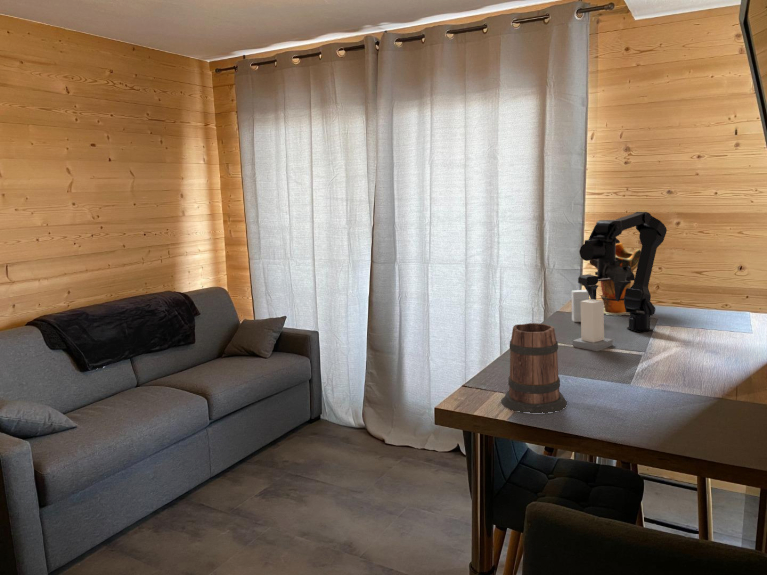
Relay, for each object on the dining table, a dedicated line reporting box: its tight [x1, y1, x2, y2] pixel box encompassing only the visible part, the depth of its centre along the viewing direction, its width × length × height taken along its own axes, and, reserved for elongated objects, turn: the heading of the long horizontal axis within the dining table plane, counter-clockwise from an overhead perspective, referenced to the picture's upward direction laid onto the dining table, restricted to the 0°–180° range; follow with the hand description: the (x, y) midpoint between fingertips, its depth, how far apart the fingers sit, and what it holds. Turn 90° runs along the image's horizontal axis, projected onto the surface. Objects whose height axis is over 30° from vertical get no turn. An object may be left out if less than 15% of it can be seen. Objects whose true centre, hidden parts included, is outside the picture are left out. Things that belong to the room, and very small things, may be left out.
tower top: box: [572, 337, 614, 352], centre depth 200 cm, size 9×9×2 cm
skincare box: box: [571, 289, 590, 323], centre depth 238 cm, size 6×4×12 cm
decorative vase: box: [589, 242, 641, 316], centre depth 250 cm, size 21×23×28 cm
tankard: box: [500, 322, 568, 413], centre depth 158 cm, size 24×17×20 cm
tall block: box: [580, 298, 605, 343], centre depth 198 cm, size 5×5×13 cm
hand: (606, 302), depth 209 cm, fingers open, 9 cm apart
